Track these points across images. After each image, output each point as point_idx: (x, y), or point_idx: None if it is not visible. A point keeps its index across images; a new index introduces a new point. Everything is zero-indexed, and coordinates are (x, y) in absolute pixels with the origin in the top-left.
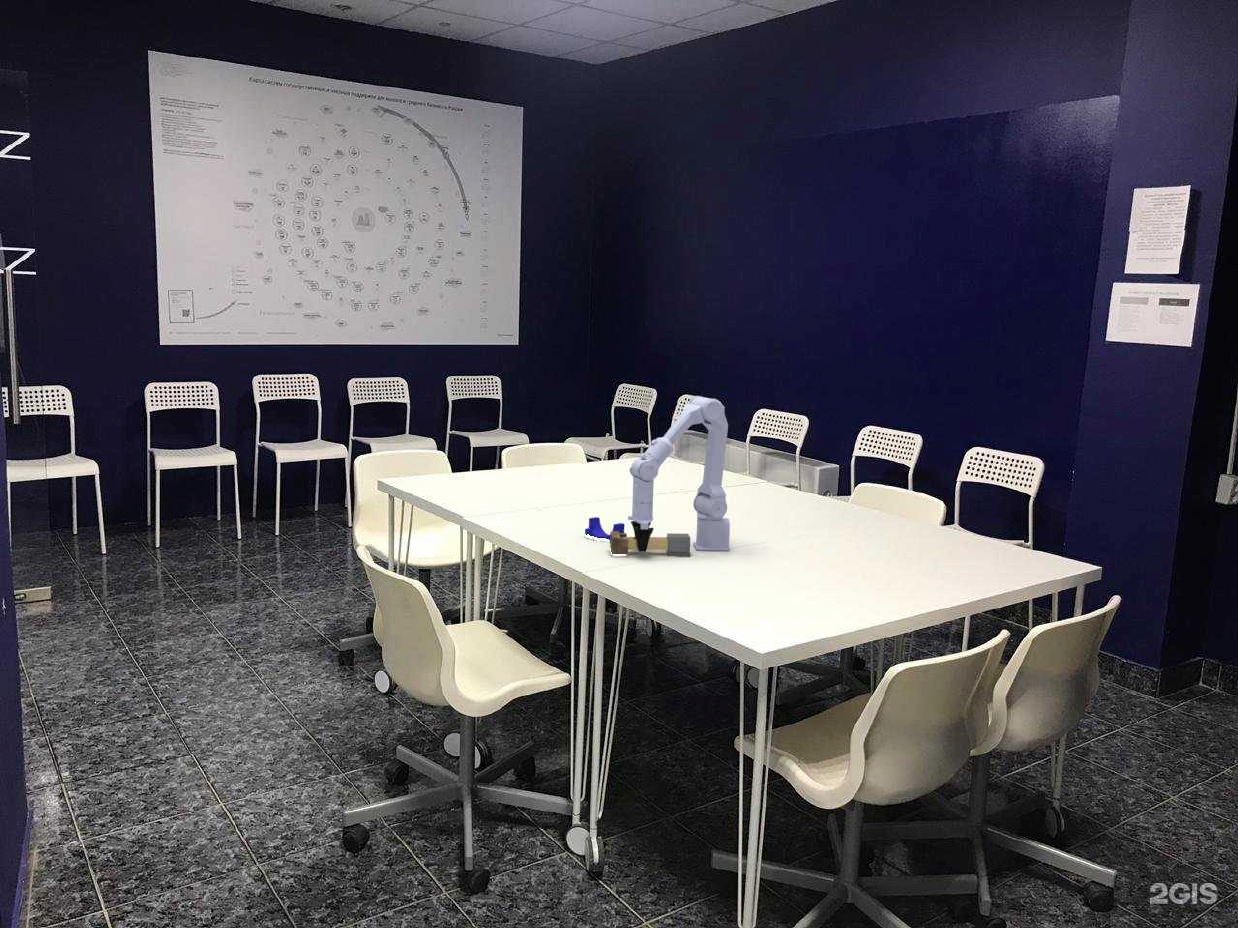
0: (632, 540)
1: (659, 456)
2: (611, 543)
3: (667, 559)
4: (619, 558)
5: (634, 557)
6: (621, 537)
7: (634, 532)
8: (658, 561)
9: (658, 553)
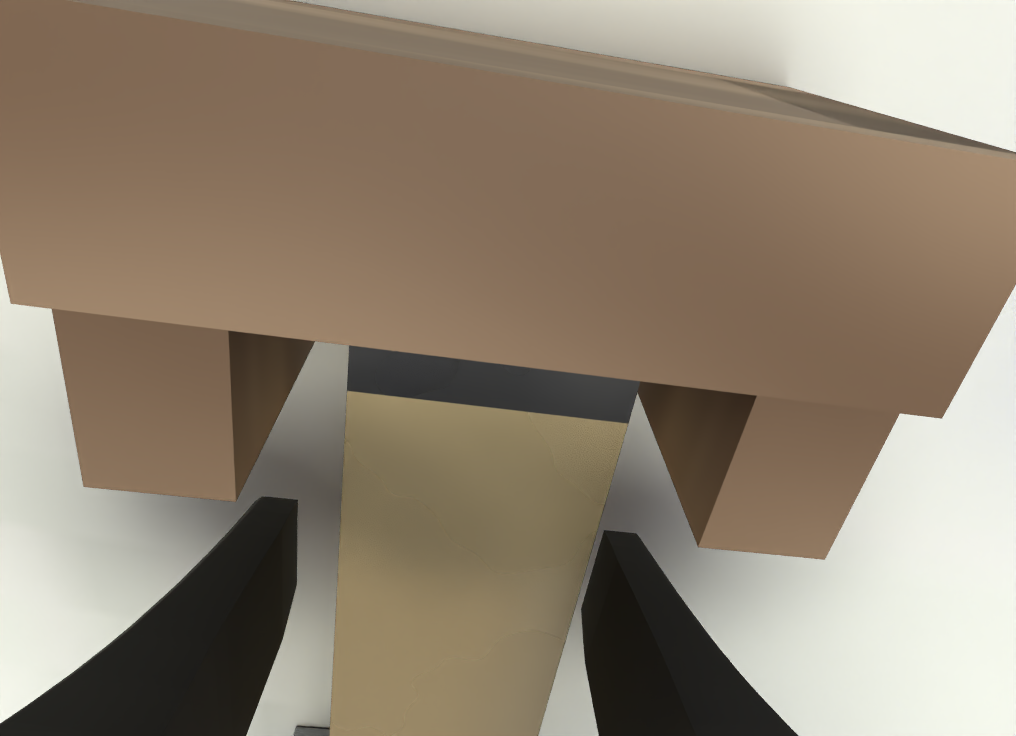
0: (340, 547)
1: None
2: (422, 37)
3: None
4: None
5: None
6: (550, 379)
7: (683, 712)
8: (46, 609)
9: None
